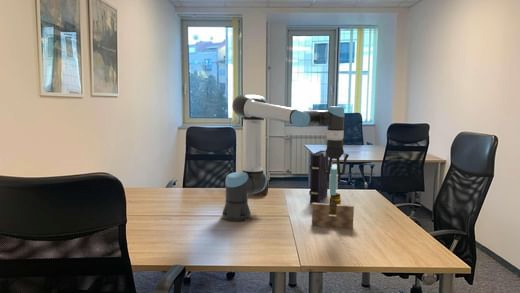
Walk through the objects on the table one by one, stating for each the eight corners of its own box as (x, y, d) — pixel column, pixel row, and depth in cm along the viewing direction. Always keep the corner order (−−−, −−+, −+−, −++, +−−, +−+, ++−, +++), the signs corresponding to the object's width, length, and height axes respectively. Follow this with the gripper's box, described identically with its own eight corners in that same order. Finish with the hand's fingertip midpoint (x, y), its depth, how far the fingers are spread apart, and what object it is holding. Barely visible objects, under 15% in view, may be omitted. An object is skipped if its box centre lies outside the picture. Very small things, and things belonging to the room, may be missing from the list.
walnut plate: (311, 225, 191) (312, 203, 190) (312, 223, 193) (312, 202, 192) (352, 228, 187) (353, 206, 186) (352, 227, 189) (353, 205, 188)
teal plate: (331, 185, 192) (332, 164, 191) (336, 186, 192) (337, 164, 190) (329, 195, 173) (330, 171, 171) (335, 195, 172) (336, 171, 171)
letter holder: (266, 195, 253) (267, 174, 251) (237, 194, 255) (237, 173, 254) (268, 192, 263) (268, 171, 261) (239, 191, 265) (239, 170, 264)
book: (318, 194, 258) (320, 150, 254) (327, 195, 255) (329, 150, 252) (309, 202, 236) (310, 154, 233) (319, 203, 234) (320, 155, 230)
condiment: (343, 215, 209) (344, 194, 208) (332, 218, 204) (333, 196, 203) (334, 212, 215) (334, 191, 214) (322, 214, 210) (323, 193, 209)
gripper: (318, 139, 177) (316, 189, 180) (352, 140, 174) (350, 191, 177) (319, 138, 185) (317, 185, 187) (351, 139, 182) (349, 187, 184)
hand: (333, 188), depth 182 cm, fingers closed on teal plate, 2 cm apart
